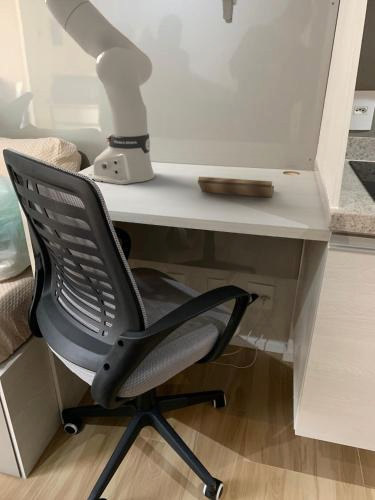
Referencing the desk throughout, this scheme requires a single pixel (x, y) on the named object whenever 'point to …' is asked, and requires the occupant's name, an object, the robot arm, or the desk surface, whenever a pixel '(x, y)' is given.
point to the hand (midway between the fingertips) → (227, 21)
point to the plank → (236, 186)
